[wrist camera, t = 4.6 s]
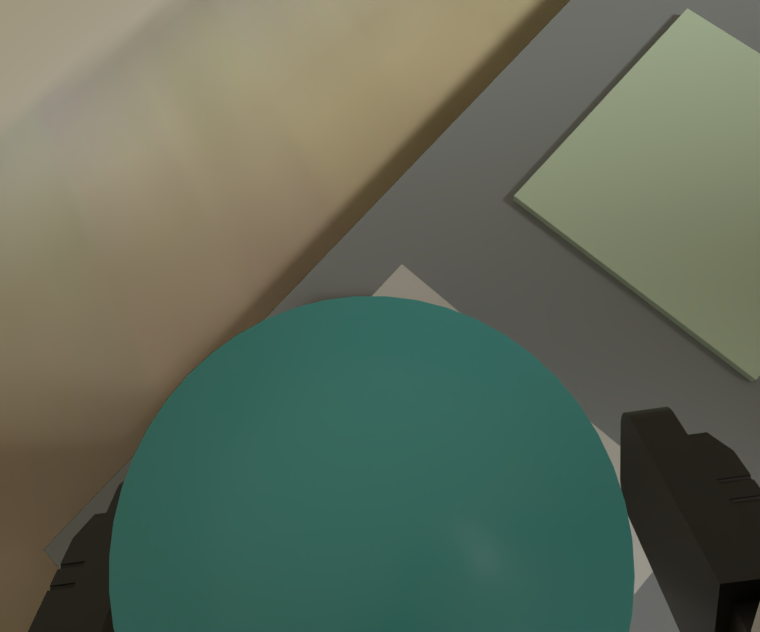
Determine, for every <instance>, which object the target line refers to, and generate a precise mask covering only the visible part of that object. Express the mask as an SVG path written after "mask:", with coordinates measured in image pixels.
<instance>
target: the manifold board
mask: <svg viewBox="0 0 760 632" xmlns="http://www.w3.org/2000/svg"><path fill="white" fill-rule="evenodd" d="M353 296H388V297H397V298H405V299H413V300H419V301H423V302H427V303H431V304H435V305H438V306H442V307H446V308H449V309H452V310H454V311H457V312H459V313H462V314H464V315H467V316H470V317H472V318H475V319H477V320H479V321H481V322H483V323H484V324H486V325H488V326H490V327H492V328H494V329H495V330H497V331H499V332H501V333H503V334H505V335H506V336H508V337H509V338H510V339H512V340H513V341H514V342H516V343H517V344H519V345H520V346H521V347H523V348H524V349H526V350H527V351H528V352H530V353H531V354H532V355H534V356H535V357H536V358H537V359H538V360H539V361H540V362H541V363H542V364H543V365H544V366H545V367H546V368H547V369H548V370H550V371H551V372H552V373H553V374H554V375H555V376H556V377H557V378H558V379H559V380H560V382H561V383H562V384H563V385H564V386H565V388H566V389H567V390H568V391H569V393H570V394H571V395H572V396H573V397H574V399H575V400H576V401H577V402H578V403H579V405H580V406H581V408H582V409H583V411H584V412H585V414H586V416H587V417H588V419H589V420H590V422H591V423H592V425H593V427H594V428H595V430H596V431H597V433H598V435H599V437H600V439H601V441H602V443H603V445H604V447H605V449H606V451H607V454H608V456H609V458H610V460H611V462H612V464H613V466H614V469H615V472H616V475H617V478H618V481H619V484H620V434H621V416H622V414H623V413H624V412H631V411H638V410H645V409H653V408H660V407H669V408H670V409H671V410H672V411H673V412H674V414H675V415H676V417H677V418H678V420H679V422H680V423H681V425H682V426H683V428H684V429H685V431H686V433H687V434H688V435H690V434H697V433H704V432H707V433H709V434H710V435H712V436H713V437H715V438H716V439H718V440H719V441H720V442H722V443H723V444H725V445H726V446H728V447H729V448H731V449H732V450H733V451H734V452H735V453H736V454H737V456H738V457H739V459H740V460H741V462H742V463H743V464H744V466H745V467H746V469H747V470H748V471H749V473H750V474H751V479H752V480H753V479H754V480H755V481H756V483H757V484H758V486H759V487H760V0H570V1H569V2H568V3H567V4H566V5H565V6H564V7H563V8H562V10H561V11H560V12H559V13H558V14H557V15H556V16H555V17H554V18H553V19H552V20H551V21H550V22H549V23H548V24H547V25H546V26H545V27H544V28H543V29H542V30H541V31H540V32H539V33H538V35H537V36H536V37H535V38H534V39H533V40H532V41H531V42H530V43H529V44H528V45H527V46H526V47H525V48H524V49H523V50H522V51H521V52H520V53H519V54H518V55H517V56H516V57H515V59H514V60H513V61H512V62H511V63H510V64H509V65H508V66H507V67H506V68H505V69H504V70H503V71H502V72H501V73H500V74H499V75H498V76H497V77H496V78H495V79H494V80H493V81H492V82H491V84H490V85H489V86H488V87H487V88H486V89H485V90H484V91H483V92H482V93H481V94H480V95H479V96H478V97H477V98H476V99H475V100H474V101H473V102H472V103H471V104H470V105H469V106H468V108H467V109H466V110H465V111H464V112H463V113H462V114H461V115H460V116H459V117H458V118H457V119H456V120H455V121H454V122H453V123H452V124H451V125H450V126H449V127H448V128H447V129H446V130H445V131H444V133H443V134H442V135H441V136H440V137H439V138H438V139H437V140H436V141H435V142H434V143H433V144H432V145H431V146H430V147H429V148H428V149H427V150H426V151H425V152H424V153H423V154H422V155H421V157H420V158H419V159H418V160H417V161H416V162H415V163H414V164H413V165H412V166H411V167H410V168H409V169H408V170H407V171H406V172H405V173H404V174H403V175H402V176H401V177H400V178H399V179H398V180H397V182H396V183H395V184H394V185H393V186H392V187H391V188H390V189H389V190H388V191H387V192H386V193H385V194H384V195H383V196H382V197H381V198H380V199H379V200H378V201H377V202H376V203H375V204H374V205H373V207H372V208H371V209H370V210H369V211H368V212H367V213H366V214H365V215H364V216H363V217H362V218H361V219H360V220H359V221H358V222H357V223H356V224H355V225H354V226H353V227H352V228H351V229H350V231H349V232H348V233H347V234H346V235H345V236H344V237H343V238H342V239H341V240H340V241H339V242H338V243H337V244H336V245H335V246H334V247H333V248H332V249H331V250H330V251H329V252H328V253H327V254H326V256H325V257H324V258H323V259H322V260H321V261H320V262H319V263H318V264H317V265H316V266H315V267H314V268H313V269H312V270H311V271H310V272H309V273H308V274H307V275H306V276H305V277H304V278H303V280H302V281H301V282H300V283H299V284H298V285H297V286H296V287H295V288H294V289H293V290H292V291H291V292H290V293H289V294H288V295H287V296H286V297H285V298H284V299H283V300H282V301H281V302H280V303H279V305H278V306H277V307H276V308H275V309H274V310H273V311H272V312H271V313H270V314H269V315H268V316H267V317H266V318H265V319H268V318H270V317H273V316H275V315H278V314H280V313H283V312H285V311H288V310H290V309H293V308H296V307H300V306H304V305H308V304H312V303H315V302H319V301H323V300H330V299H338V298H345V297H353ZM265 319H264V320H265ZM133 457H134V456H133ZM133 457H132V458H131V459H130V460H129V461H128V462H127V463H126V464H125V465H124V466H123V467H122V468H121V469H120V470H119V471H118V472H117V473H116V474H115V475H114V477H113V478H112V479H111V480H110V481H109V482H108V483H107V484H106V485H105V486H104V487H103V488H102V489H101V490H100V491H99V492H98V493H97V494H96V495H95V496H94V497H93V498H92V499H91V501H90V502H89V503H88V504H87V505H86V506H85V507H84V508H83V509H82V510H81V511H80V512H79V513H78V514H77V515H76V516H75V517H74V518H73V519H72V520H71V521H70V522H69V523H68V524H67V526H66V527H65V528H64V529H63V530H62V531H61V532H60V533H59V534H58V535H57V536H56V537H55V538H54V539H53V540H52V541H51V542H50V543H49V544H48V545H47V546H46V547H45V548H44V551H45V553H46V554H47V555H48V556H49V557H50V558H51V560H52V561H53V562H54V563H55V564H56V566H57V567H58V568H59V569H60V568H61V565H60V564H61V562H62V560H63V557H64V555H65V553H66V551H67V549H68V547H69V545H70V543H71V541H72V539H73V537H74V536H75V535H76V534H77V533H78V532H79V531H80V530H81V529H82V528H83V526H84V525H85V524H86V523H87V522H88V521H89V520H90V519H91V518H92V517H93V516H94V514H100V513H106V512H107V510H108V508H109V505H110V503H111V501H112V499H113V496H114V494H115V492H116V489H117V487H118V486H119V484H120V483H121V482H122V481H125V478H126V475H127V473H128V470H129V467H130V465H131V462H132V459H133ZM620 487H621V484H620ZM628 519H629V517H628ZM629 524H630V529H631V534H632V542H633V557H634V573H635V580H634V595H633V611H632V618H631V624H630V629H629V632H680V631H679V629H678V626H677V624H676V622H675V620H674V618H673V615H672V613H671V611H670V609H669V606H668V604H667V602H666V600H665V597H664V595H663V593H662V591H661V588H660V586H659V584H658V582H657V579H656V577H655V575H654V573H653V571H652V568H651V566H650V564H649V562H648V559H647V557H646V555H645V553H644V550H643V548H642V546H641V544H640V541H639V539H638V537H637V535H636V532H635V530H634V528H633V526H632V524H631V521H630V519H629Z"/></svg>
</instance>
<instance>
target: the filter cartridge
mask: <svg viewBox="0 0 760 632" xmlns="http://www.w3.org/2000/svg"><path fill="white" fill-rule="evenodd" d="M634 580H635V573H634V557H633V542H632V534H631V529H630V524H629V519H628V514H627V509H626V503H625V500H624V497H623V494H622V490H621V487H620V484H619V481H618V478H617V475H616V472H615V469H614V466H613V464H612V462H611V460H610V458H609V456H608V454H607V451H606V449H605V447H604V445H603V443H602V441H601V439H600V437H599V435H598V433H597V431H596V430H595V428H594V427H593V425H592V423H591V422H590V420H589V419H588V417H587V416H586V414H585V412H584V411H583V409H582V408H581V406H580V405H579V403H578V402H577V401H576V400H575V399H574V397H573V396H572V395H571V394H570V393H569V391H568V390H567V389H566V388H565V386H564V385H563V384H562V383H561V382H560V380H559V379H558V378H557V377H556V376H555V375H554V374H553V373H552V372H551V371H550V370H548V369H547V368H546V367H545V366H544V365H543V364H542V363H541V362H540V361H539V360H538V359H537V358H536V357H535V356H534V355H532V354H531V353H530V352H528V351H527V350H526V349H524V348H523V347H521V346H520V345H519V344H517V343H516V342H514V341H513V340H512V339H510V338H509V337H508V336H506V335H505V334H503V333H501V332H499V331H497V330H495V329H494V328H492V327H490V326H488V325H486V324H484V323H483V322H481V321H479V320H477V319H475V318H472V317H470V316H467V315H464V314H462V313H459V312H457V311H454V310H452V309H449V308H446V307H442V306H438V305H435V304H431V303H427V302H423V301H419V300H413V299H405V298H397V297H388V296H353V297H345V298H338V299H330V300H323V301H319V302H315V303H312V304H308V305H304V306H300V307H296V308H293V309H290V310H288V311H285V312H283V313H280V314H278V315H275V316H273V317H270V318H268V319H265V320H263V321H261V322H260V323H258V324H256V325H254V326H252V327H251V328H249V329H247V330H245V331H243V332H241V333H240V334H238V335H236V336H235V337H233V338H232V339H231V340H229V341H228V342H227V343H225V344H224V345H222V346H221V347H220V348H218V349H217V350H215V351H214V352H213V353H211V354H210V355H209V356H208V357H207V358H206V359H205V360H204V361H203V362H202V363H200V364H199V365H198V366H197V367H196V368H195V369H194V370H193V371H192V372H191V373H190V374H188V376H187V377H186V378H185V379H184V380H183V381H182V383H181V384H180V385H179V386H178V387H177V388H176V390H175V391H174V392H173V393H172V394H171V395H170V397H169V398H168V399H167V400H166V402H165V403H164V405H163V406H162V408H161V409H160V411H159V412H158V414H157V415H156V417H155V418H154V420H153V421H152V423H151V424H150V426H149V427H148V429H147V431H146V433H145V435H144V437H143V439H142V441H141V443H140V445H139V447H138V449H137V451H136V453H135V455H134V457H133V459H132V462H131V465H130V467H129V470H128V473H127V475H126V478H125V481H124V483H123V486H122V489H121V493H120V497H119V501H118V505H117V510H116V514H115V518H114V522H113V530H112V538H111V547H110V555H109V595H110V603H111V612H112V620H113V628H114V632H629V629H630V624H631V618H632V611H633V595H634Z"/></svg>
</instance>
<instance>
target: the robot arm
mask: <svg viewBox="0 0 760 632" xmlns="http://www.w3.org/2000/svg"><path fill="white" fill-rule="evenodd" d="M123 483H124V481H122V482H121V483H120V484H119V486H118V487H117V489H116V492H115V494H114V496H113V499H112V501H111V503H110V505H109V508H108V510H107V512H106V513H100V514H94V516H93V517H92V518H91V519H90V520H89V521H88V522H87V523H86V524H85V525H84V526H83V528H82V529H81V530H80V531H79V532H78V533H77V534H76V535H75V536H74V537H73V539H72V541H71V543H70V545H69V547H68V549H67V551H66V553H65V555H64V557H63V560H62V562H61V564H60V565H61V568H60V569H58V570H57V572H56V574H55V576H54V578H53V581H52V583H51V585H50V587H51V589H50V591H47V593H46V595H45V597H44V599H43V601H42V604H41V606H40V608H39V610H38V612H37V614H36V616H35V618H34V620H33V622H32V625H31V627H30V629H29V631H28V632H114V628H113V620H112V612H111V603H110V595H109V555H110V547H111V538H112V530H113V522H114V518H115V514H116V510H117V505H118V501H119V497H120V493H121V489H122V486H123ZM620 484H621V490H622V494H623V497H624V500H625V503H626V509H627V514H628V517H629V519H630V521H631V524H632V526H633V528H634V530H635V532H636V535H637V537H638V539H639V541H640V544H641V546H642V548H643V550H644V553H645V555H646V557H647V559H648V562H649V564H650V566H651V568H652V571H653V573H654V575H655V577H656V579H657V582H658V584H659V586H660V588H661V591H662V593H663V595H664V597H665V600H666V602H667V604H668V606H669V609H670V611H671V613H672V615H673V618H674V620H675V622H676V624H677V626H678V629H679V631H680V632H760V487H759V486H758V484H757V483H756V481H755V480H754V479H753V480H752V479H751V474H750V473H749V471H748V470H747V469H746V467H745V466H744V464H743V463H742V462H741V460H740V459H739V457H738V456H737V454H736V453H735V452H734V451H733V450H732V449H731V448H729V447H728V446H726V445H725V444H723V443H722V442H720V441H719V440H718V439H716V438H715V437H713V436H712V435H710V434H709V433H707V432H704V433H697V434H690V435H688V434H687V433H686V431H685V429H684V428H683V426H682V425H681V423H680V422H679V420H678V418H677V417H676V415H675V414H674V412H673V411H672V410H671V409H670V408H669V407H660V408H653V409H645V410H638V411H631V412H624V413H623V414H622V416H621V434H620Z"/></svg>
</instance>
